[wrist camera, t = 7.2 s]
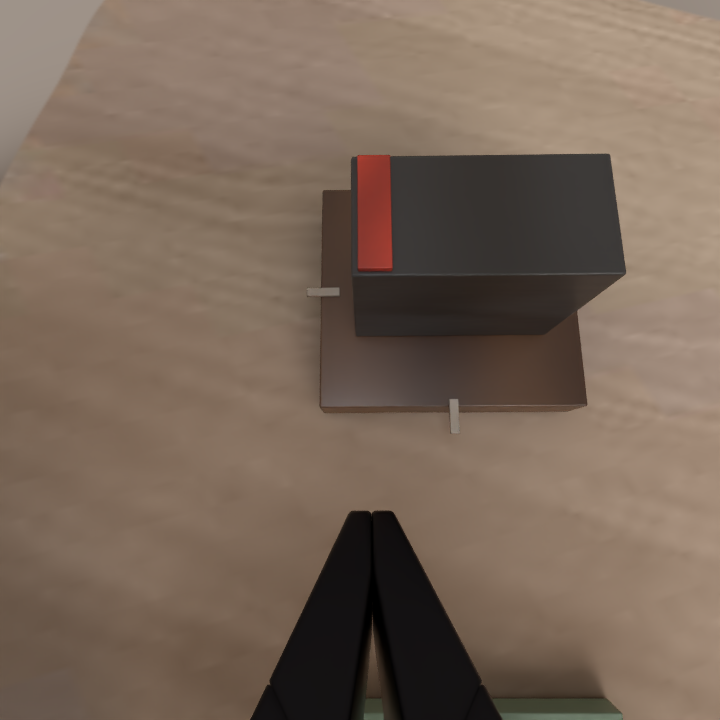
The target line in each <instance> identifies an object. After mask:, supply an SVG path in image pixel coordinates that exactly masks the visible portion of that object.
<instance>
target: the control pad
mask: <svg viewBox="0 0 720 720" xmlns="http://www.w3.org/2000/svg"><path fill="white" fill-rule="evenodd" d="M492 700H493V702H494V704H495V706H496V708H497V710H498V712H499V713H500V715H501V717H502V719H503V720H623V716H622V713H621V712H620V711H619V710H618V709H617V708H616V707H615V706H614V705H613V704H612V703H611V702H610V701H609V700H608V699H538V698H492ZM363 720H384V715H383V707H382V699H381V698H366V699H365V709H364V719H363Z"/></svg>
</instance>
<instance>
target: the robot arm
mask: <svg viewBox="0 0 720 720" xmlns="http://www.w3.org/2000/svg"><path fill="white" fill-rule="evenodd" d="M372 615H373V634H374V644H375V652H376V660H377V667H378V675H379V683H380V691H381V699H382V707H383V715H384V720H503V719H502V717H501V715H500V713H499V712H498V710H497V708H496V706H495V704H494V702H493V700H492V698H491V696H490V695H489V693H488V691H487V689H486V687H485V686H484V685H481V682H482V680H481V678H480V676H479V674H478V672H477V670H476V668H475V666H474V664H473V663H472V661H471V659H470V657H469V655H468V653H467V651H466V649H465V647H464V645H463V643H462V642H461V640H460V638H459V636H458V634H457V632H456V630H455V628H454V626H453V624H452V623H451V621H450V619H449V617H448V615H447V613H446V611H445V609H444V607H443V605H442V603H441V602H440V600H439V598H438V596H437V594H436V592H435V590H434V588H433V586H432V584H431V582H430V581H429V579H428V577H427V575H426V573H425V571H424V569H423V567H422V565H421V563H420V561H419V560H418V558H417V556H416V554H415V552H414V550H413V548H412V546H411V544H410V542H409V540H408V539H407V537H406V535H405V533H404V531H403V529H402V527H401V525H400V523H399V521H398V519H397V518H396V516H395V514H394V513H393V512H392V511H374V512H372V521H371V513H370V512H369V511H351V512H350V513H349V514H348V516H347V518H346V520H345V522H344V525H343V527H342V529H341V531H340V533H339V535H338V537H337V539H336V541H335V543H334V546H333V548H332V550H331V552H330V554H329V556H328V558H327V560H326V562H325V564H324V567H323V569H322V571H321V573H320V575H319V577H318V579H317V581H316V583H315V586H314V588H313V590H312V592H311V594H310V596H309V598H308V600H307V602H306V604H305V607H304V609H303V611H302V613H301V615H300V617H299V619H298V621H297V623H296V625H295V628H294V630H293V632H292V634H291V636H290V638H289V640H288V642H287V644H286V646H285V649H284V651H283V653H282V655H281V657H280V659H279V661H278V663H277V665H276V668H275V670H274V672H273V674H272V676H271V678H270V685H267V686H266V688H265V690H264V692H263V694H262V696H261V698H260V701H259V703H258V705H257V707H256V709H255V711H254V713H253V715H252V717H251V719H250V720H363V719H364V709H365V699H366V689H367V679H368V669H369V659H370V649H371V637H372Z"/></svg>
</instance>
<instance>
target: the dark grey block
mask: <svg viewBox="0 0 720 720" xmlns="http://www.w3.org/2000/svg"><path fill="white" fill-rule="evenodd" d="M625 274H626V268H625V261H624V253H623V246H622V239H621V231H620V224H619V217H618V210H617V202H616V195H615V188H614V180H613V173H612V166H611V158H610V154H544V155H460V156H390V155H358V156H357V157H352V159H351V280H352V293H353V306H354V319H355V332H356V336H439V335H544V334H546V333H547V332H549V331H550V330H551V329H553V328H554V327H556V326H557V325H558V324H560V323H561V322H562V321H564V320H565V319H566V318H568V317H569V316H570V315H572V314H573V313H574V312H576V311H577V310H578V309H580V308H581V307H582V306H584V305H585V304H586V303H588V302H589V301H590V300H592V299H593V298H594V297H596V296H597V295H598V294H600V293H601V292H602V291H604V290H605V289H607V288H608V287H609V286H611V285H612V284H613V283H615V282H616V281H617V280H619V279H620V278H621V277H623V276H624V275H625Z"/></svg>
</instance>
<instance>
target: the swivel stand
mask: <svg viewBox="0 0 720 720" xmlns="http://www.w3.org/2000/svg"><path fill="white" fill-rule="evenodd" d="M307 297H321V348H320V408H321V409H322V410H323V412H324V413H383V412H449V415H450V434H460V427H459V412H546V411H570V410H574V409H577V408H581V407H584V406H587V397H586V388H585V379H584V370H583V361H582V352H581V343H580V334H579V325H578V316H577V311H576V312H574V313H573V314H572V315H570V316H569V317H568V318H566V319H565V320H564V321H562V322H561V323H560V324H558V325H557V326H556V327H554V328H553V329H551V330H550V331H549V332H547V333H546V334H544V335H439V336H356V332H355V319H354V306H353V293H352V280H351V190H324V191H323V205H322V276H321V288H307Z"/></svg>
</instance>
